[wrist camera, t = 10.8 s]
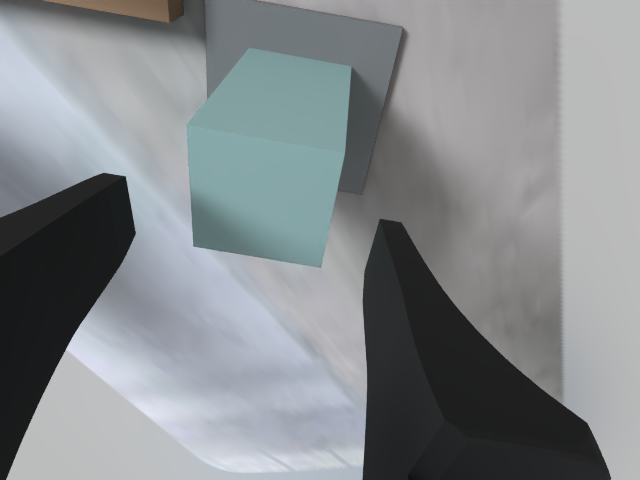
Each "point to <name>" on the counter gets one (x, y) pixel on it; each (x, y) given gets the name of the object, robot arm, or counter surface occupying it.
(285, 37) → the rubber mat
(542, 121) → the counter surface
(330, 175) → the peg
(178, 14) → the block
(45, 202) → the robot arm
